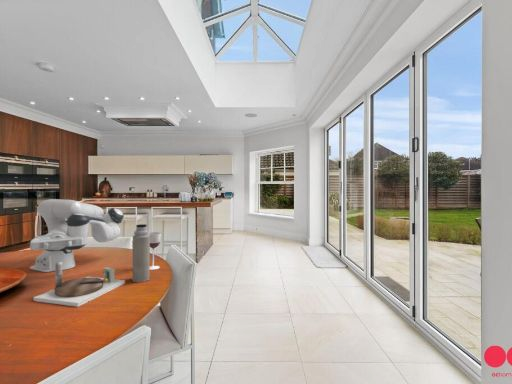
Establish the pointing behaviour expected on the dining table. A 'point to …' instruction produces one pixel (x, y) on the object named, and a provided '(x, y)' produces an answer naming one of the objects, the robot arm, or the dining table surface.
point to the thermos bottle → (141, 254)
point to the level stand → (82, 299)
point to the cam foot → (75, 284)
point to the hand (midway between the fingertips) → (58, 245)
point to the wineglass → (154, 245)
